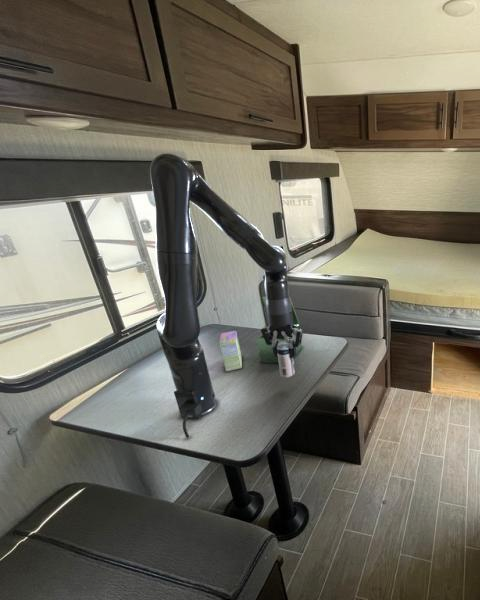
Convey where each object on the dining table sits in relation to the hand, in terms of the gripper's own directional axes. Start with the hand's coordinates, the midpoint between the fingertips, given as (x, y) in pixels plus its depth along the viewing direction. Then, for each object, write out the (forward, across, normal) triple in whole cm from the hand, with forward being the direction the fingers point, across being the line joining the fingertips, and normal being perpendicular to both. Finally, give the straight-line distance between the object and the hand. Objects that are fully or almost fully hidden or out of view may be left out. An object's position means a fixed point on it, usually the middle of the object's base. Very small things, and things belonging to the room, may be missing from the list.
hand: (285, 355), depth 108 cm
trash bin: (+13, -13, +21) cm, 28 cm away
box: (+13, -29, +12) cm, 34 cm away
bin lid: (-5, -13, +25) cm, 29 cm away
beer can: (+8, 0, 0) cm, 8 cm away
